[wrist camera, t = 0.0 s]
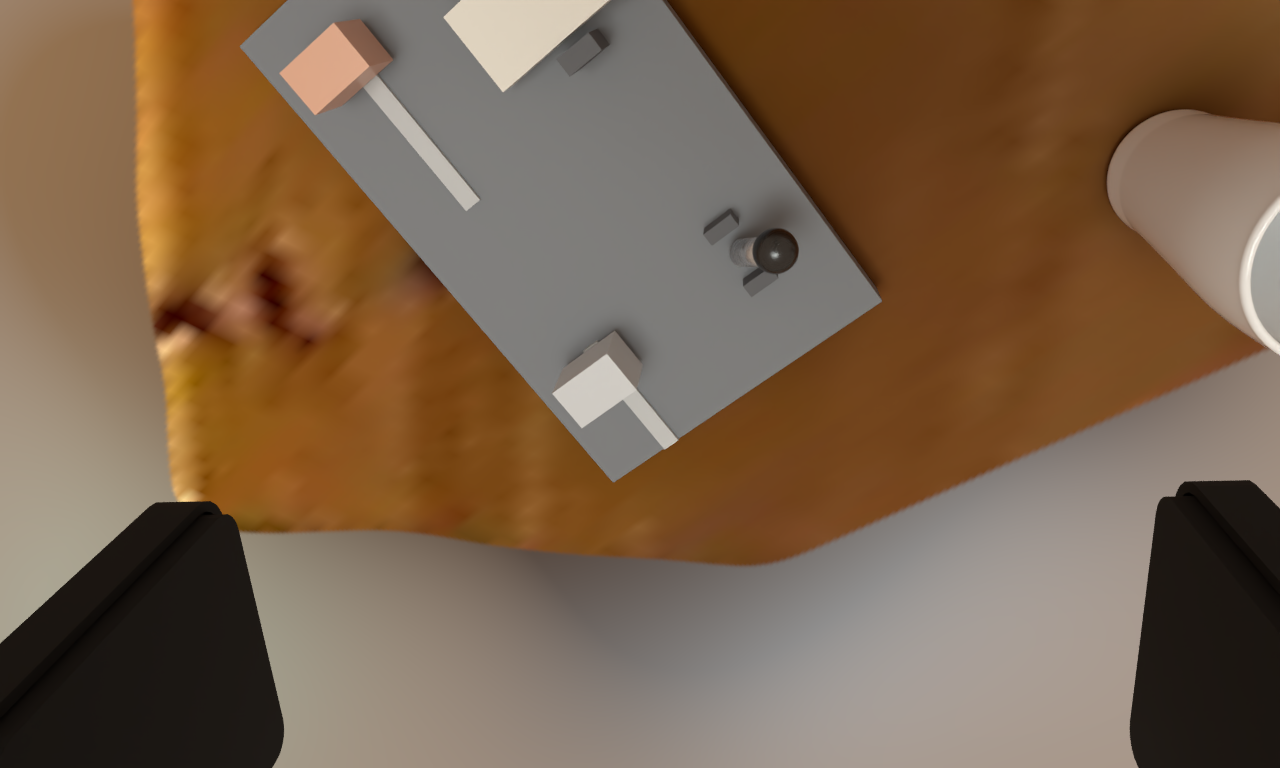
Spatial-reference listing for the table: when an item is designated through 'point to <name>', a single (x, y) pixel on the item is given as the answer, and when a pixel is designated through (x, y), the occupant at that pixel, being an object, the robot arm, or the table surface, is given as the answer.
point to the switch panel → (586, 205)
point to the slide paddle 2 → (598, 379)
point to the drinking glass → (1208, 209)
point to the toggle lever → (766, 251)
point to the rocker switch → (517, 31)
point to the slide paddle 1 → (336, 65)
